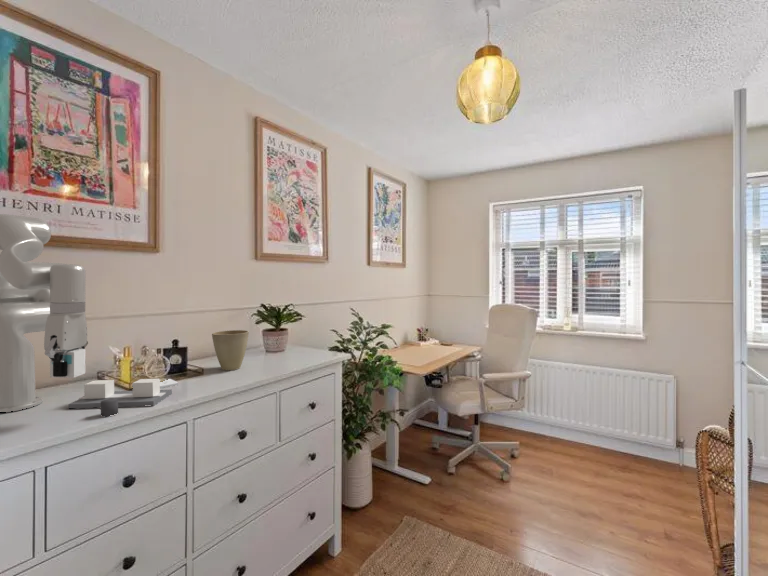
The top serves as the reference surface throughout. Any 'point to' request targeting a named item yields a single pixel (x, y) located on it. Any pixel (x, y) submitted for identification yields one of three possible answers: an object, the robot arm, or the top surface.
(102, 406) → the dark grey cube
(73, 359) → the module
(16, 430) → the top surface
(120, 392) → the rail board
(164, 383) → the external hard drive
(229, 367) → the plant pot
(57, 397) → the top surface
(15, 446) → the top surface
